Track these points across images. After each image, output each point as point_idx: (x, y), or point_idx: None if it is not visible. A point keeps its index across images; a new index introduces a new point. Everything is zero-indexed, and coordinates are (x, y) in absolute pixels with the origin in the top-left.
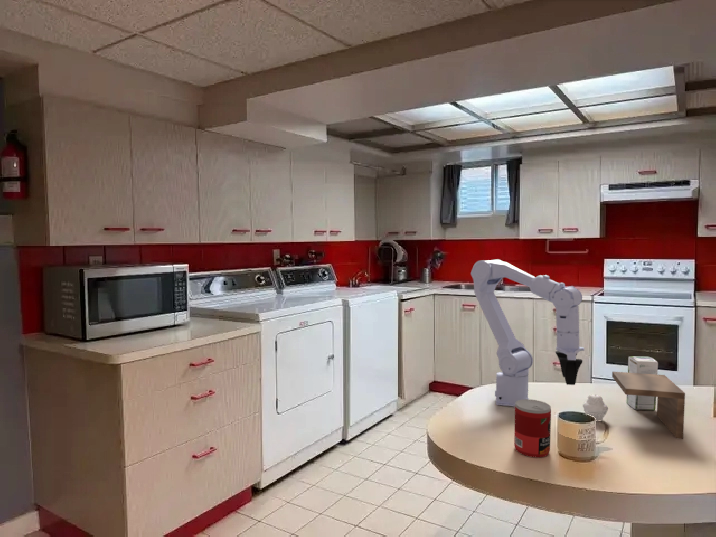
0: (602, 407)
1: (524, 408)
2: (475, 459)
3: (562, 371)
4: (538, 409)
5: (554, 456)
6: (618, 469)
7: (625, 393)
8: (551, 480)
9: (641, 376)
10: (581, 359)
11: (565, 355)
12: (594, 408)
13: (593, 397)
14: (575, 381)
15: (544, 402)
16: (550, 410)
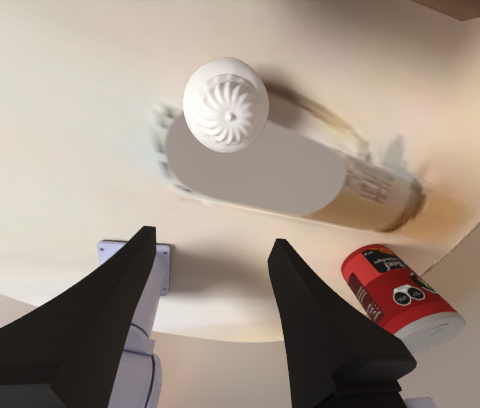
0: (263, 96)
1: (437, 345)
2: None
3: (147, 277)
4: (444, 328)
5: (390, 239)
6: (470, 160)
7: (465, 18)
8: (443, 252)
9: None
10: (374, 362)
11: (99, 380)
12: (263, 128)
13: (247, 131)
14: (292, 248)
15: (429, 324)
16: (457, 313)
